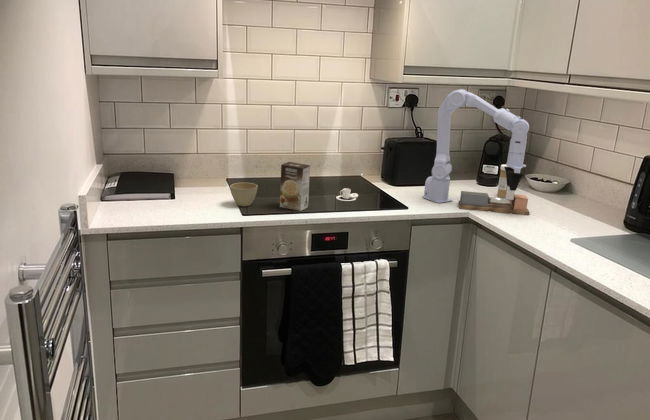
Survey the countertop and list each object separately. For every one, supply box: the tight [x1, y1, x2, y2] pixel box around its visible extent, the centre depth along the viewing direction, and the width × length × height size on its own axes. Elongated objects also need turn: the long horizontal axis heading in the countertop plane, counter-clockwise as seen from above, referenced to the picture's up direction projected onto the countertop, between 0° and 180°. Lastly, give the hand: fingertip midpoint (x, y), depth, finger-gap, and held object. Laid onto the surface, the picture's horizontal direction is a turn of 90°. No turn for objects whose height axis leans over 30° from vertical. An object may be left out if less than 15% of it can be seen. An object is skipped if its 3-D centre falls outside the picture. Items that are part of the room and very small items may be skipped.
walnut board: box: [457, 200, 530, 216], centre depth 206 cm, size 26×8×1 cm, turn 80°
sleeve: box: [459, 190, 490, 207], centre depth 207 cm, size 10×4×4 cm, turn 80°
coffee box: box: [279, 161, 311, 212], centre depth 194 cm, size 9×6×16 cm
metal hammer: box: [488, 186, 515, 206], centre depth 204 cm, size 14×3×8 cm, turn 80°
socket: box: [512, 193, 529, 211], centre depth 204 cm, size 4×5×5 cm
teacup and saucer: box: [335, 187, 359, 202], centre depth 211 cm, size 9×8×4 cm
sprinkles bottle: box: [496, 164, 508, 198], centre depth 224 cm, size 5×5×14 cm
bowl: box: [229, 182, 258, 207], centre depth 196 cm, size 10×10×7 cm
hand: (511, 187), depth 203 cm, fingers open, 7 cm apart
